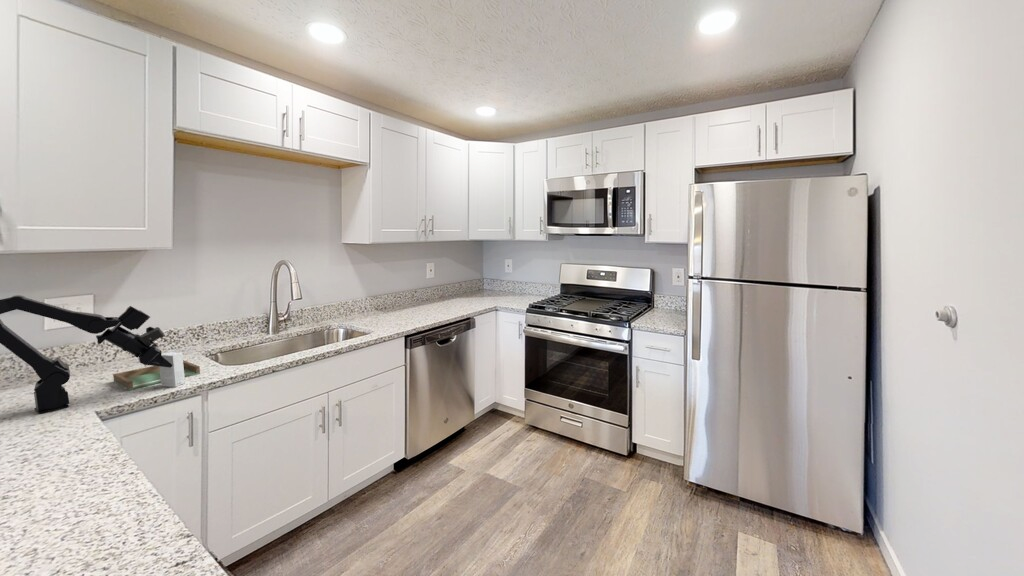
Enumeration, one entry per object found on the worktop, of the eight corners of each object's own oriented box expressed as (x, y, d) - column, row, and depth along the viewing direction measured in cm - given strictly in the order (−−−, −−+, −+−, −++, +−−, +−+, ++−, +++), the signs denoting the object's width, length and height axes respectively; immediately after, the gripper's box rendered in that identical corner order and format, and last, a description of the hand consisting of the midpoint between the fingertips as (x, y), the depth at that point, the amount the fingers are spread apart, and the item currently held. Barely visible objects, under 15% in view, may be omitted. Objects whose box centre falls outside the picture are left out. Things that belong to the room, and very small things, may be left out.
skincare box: (185, 383, 157) (182, 352, 156) (175, 387, 153) (172, 355, 152) (171, 382, 158) (168, 351, 156) (160, 386, 154) (157, 355, 152)
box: (129, 390, 149) (128, 382, 149) (113, 381, 158) (113, 374, 157) (200, 373, 168) (199, 366, 167) (183, 366, 176) (182, 359, 176)
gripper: (149, 325, 142) (192, 350, 151) (142, 318, 154) (182, 341, 164) (120, 352, 137) (166, 376, 146) (115, 342, 150) (158, 365, 159)
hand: (169, 363), depth 154 cm, fingers open, 9 cm apart
